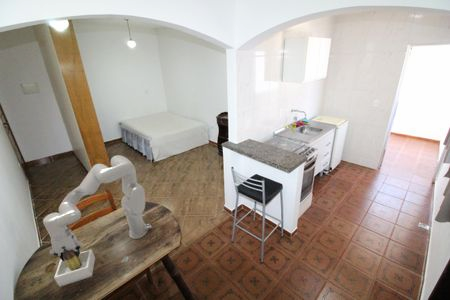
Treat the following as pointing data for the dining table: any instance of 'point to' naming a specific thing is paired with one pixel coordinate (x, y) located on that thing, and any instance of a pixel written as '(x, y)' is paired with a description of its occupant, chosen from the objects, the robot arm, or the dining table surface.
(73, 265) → the sauce bottle
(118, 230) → the dining table surface
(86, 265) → the storage box
